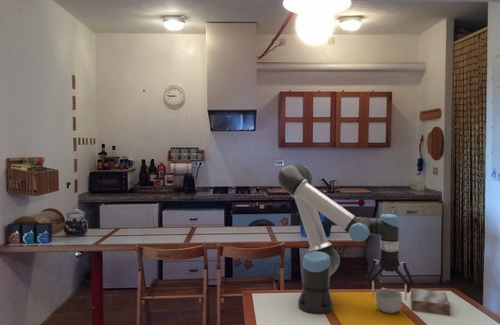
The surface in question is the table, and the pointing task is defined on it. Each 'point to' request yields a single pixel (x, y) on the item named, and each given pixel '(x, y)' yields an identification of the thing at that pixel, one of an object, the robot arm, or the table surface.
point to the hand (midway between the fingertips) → (389, 298)
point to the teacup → (388, 300)
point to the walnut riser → (430, 301)
